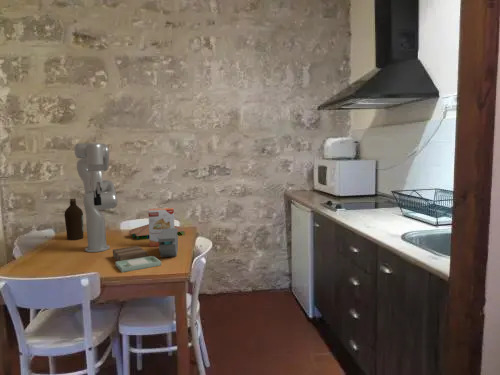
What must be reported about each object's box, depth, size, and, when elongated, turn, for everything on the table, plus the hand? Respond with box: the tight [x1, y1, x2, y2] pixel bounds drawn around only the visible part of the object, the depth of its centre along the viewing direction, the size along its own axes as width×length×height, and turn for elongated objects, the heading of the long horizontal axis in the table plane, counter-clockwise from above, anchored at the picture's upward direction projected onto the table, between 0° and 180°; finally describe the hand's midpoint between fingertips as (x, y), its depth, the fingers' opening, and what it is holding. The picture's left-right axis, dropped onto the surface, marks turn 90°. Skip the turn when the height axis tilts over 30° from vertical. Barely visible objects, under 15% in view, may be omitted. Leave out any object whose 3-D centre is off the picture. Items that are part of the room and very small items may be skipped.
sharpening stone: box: [158, 228, 179, 258], centre depth 205 cm, size 25×8×11 cm, turn 7°
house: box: [128, 223, 186, 240], centre depth 253 cm, size 23×33×8 cm
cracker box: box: [148, 207, 175, 248], centre depth 224 cm, size 14×6×21 cm, turn 102°
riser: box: [112, 245, 149, 262], centre depth 197 cm, size 16×13×4 cm
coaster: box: [127, 258, 149, 267], centre depth 183 cm, size 8×8×2 cm
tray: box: [114, 255, 162, 273], centre depth 185 cm, size 12×18×2 cm, turn 122°
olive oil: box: [63, 198, 84, 241], centre depth 246 cm, size 11×11×25 cm
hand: (97, 205), depth 197 cm, fingers closed
